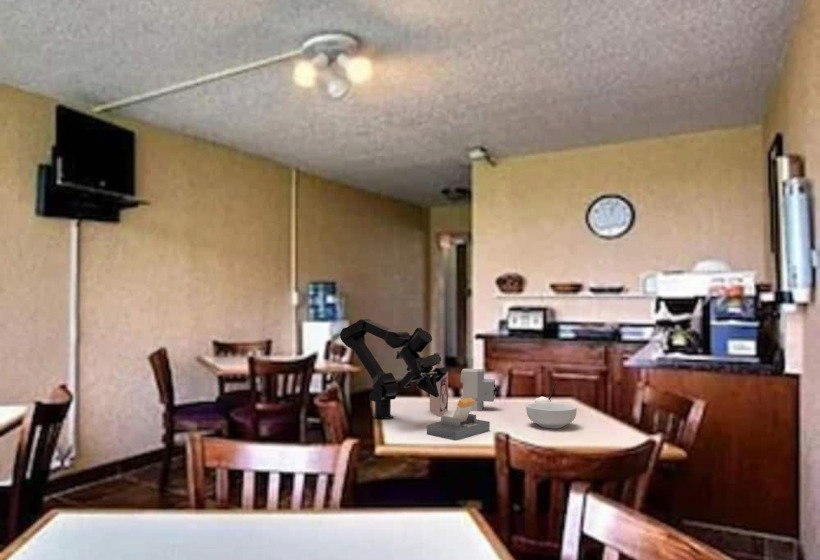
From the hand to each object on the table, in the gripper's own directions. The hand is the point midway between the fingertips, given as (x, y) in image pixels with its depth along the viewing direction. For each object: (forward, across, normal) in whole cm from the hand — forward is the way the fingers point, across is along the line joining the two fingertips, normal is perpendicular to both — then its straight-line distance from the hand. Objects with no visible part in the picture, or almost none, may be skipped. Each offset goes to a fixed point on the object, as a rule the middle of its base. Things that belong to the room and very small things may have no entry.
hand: (437, 396), depth 228 cm
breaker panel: (+14, 0, +1) cm, 14 cm away
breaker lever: (+11, 0, -2) cm, 11 cm away
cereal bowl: (+26, +30, -11) cm, 41 cm away
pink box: (-4, +19, +19) cm, 27 cm away
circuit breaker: (+1, +37, +14) cm, 40 cm away
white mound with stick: (+17, +46, -2) cm, 49 cm away
